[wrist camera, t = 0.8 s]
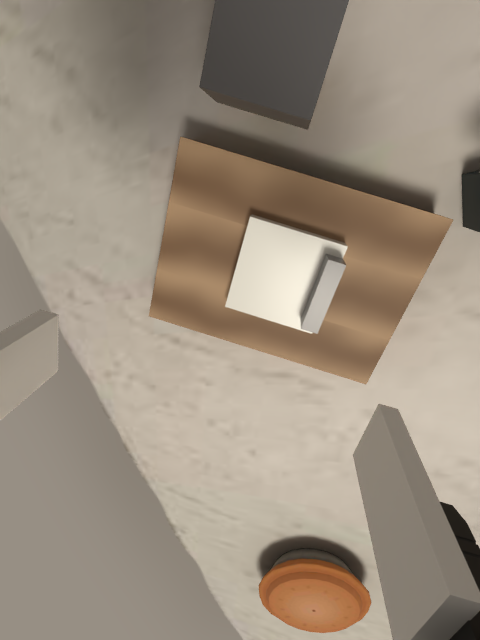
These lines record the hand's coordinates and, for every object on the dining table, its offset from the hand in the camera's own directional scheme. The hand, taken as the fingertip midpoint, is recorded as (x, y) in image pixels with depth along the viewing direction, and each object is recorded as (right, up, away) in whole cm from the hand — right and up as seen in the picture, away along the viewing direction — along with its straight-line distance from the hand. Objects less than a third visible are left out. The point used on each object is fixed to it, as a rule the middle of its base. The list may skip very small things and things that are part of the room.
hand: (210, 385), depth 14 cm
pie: (+12, -35, +38) cm, 54 cm away
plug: (+4, +22, +14) cm, 26 cm away
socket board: (+6, +8, +20) cm, 22 cm away
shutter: (+5, +7, +16) cm, 18 cm away
